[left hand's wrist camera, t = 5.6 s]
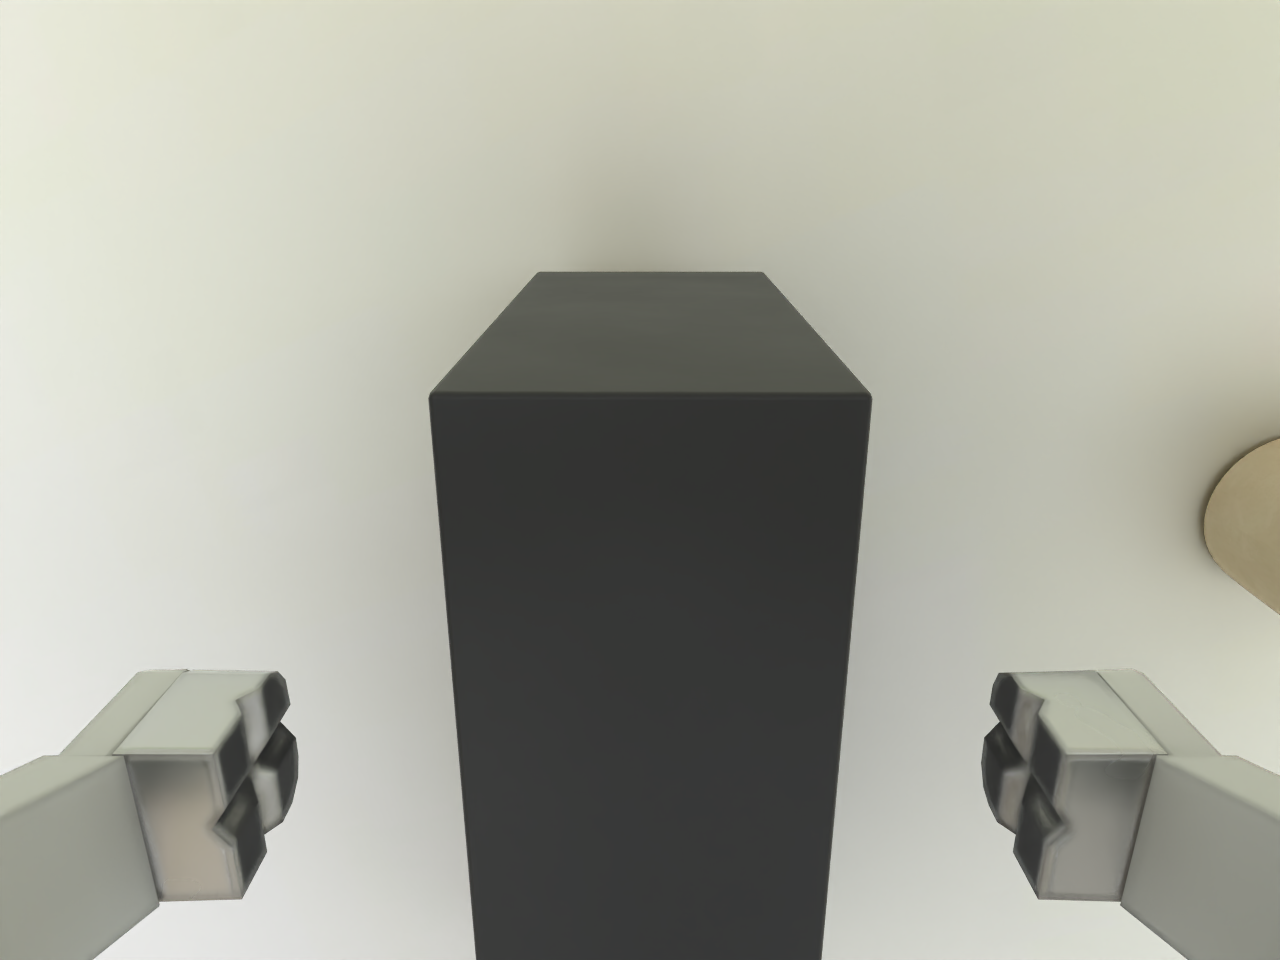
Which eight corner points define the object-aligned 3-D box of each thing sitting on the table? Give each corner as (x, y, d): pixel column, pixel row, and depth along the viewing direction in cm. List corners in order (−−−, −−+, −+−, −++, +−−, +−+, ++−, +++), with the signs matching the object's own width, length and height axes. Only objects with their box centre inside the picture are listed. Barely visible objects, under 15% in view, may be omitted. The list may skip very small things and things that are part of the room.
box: (536, 271, 23) (426, 392, 12) (764, 271, 23) (875, 393, 12) (567, 1056, 32) (524, 1538, 21) (728, 1058, 32) (769, 1541, 21)
